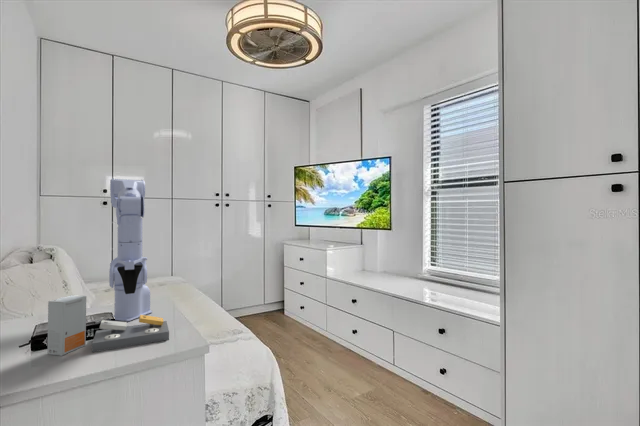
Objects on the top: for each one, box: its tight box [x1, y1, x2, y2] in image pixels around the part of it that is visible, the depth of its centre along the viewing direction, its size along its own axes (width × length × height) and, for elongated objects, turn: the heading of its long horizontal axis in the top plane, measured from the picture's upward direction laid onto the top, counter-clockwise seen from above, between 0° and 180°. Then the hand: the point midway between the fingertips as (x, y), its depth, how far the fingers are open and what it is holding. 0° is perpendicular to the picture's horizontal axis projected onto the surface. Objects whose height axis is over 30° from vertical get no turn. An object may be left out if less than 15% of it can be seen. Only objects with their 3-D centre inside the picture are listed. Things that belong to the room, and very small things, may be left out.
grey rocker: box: [99, 319, 128, 330], centre depth 83 cm, size 6×3×1 cm, turn 119°
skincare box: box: [47, 294, 87, 356], centre depth 76 cm, size 6×4×12 cm
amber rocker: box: [138, 314, 164, 325], centre depth 87 cm, size 6×3×1 cm, turn 119°
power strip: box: [91, 320, 170, 353], centre depth 83 cm, size 16×9×3 cm, turn 119°
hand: (130, 293), depth 87 cm, fingers closed
